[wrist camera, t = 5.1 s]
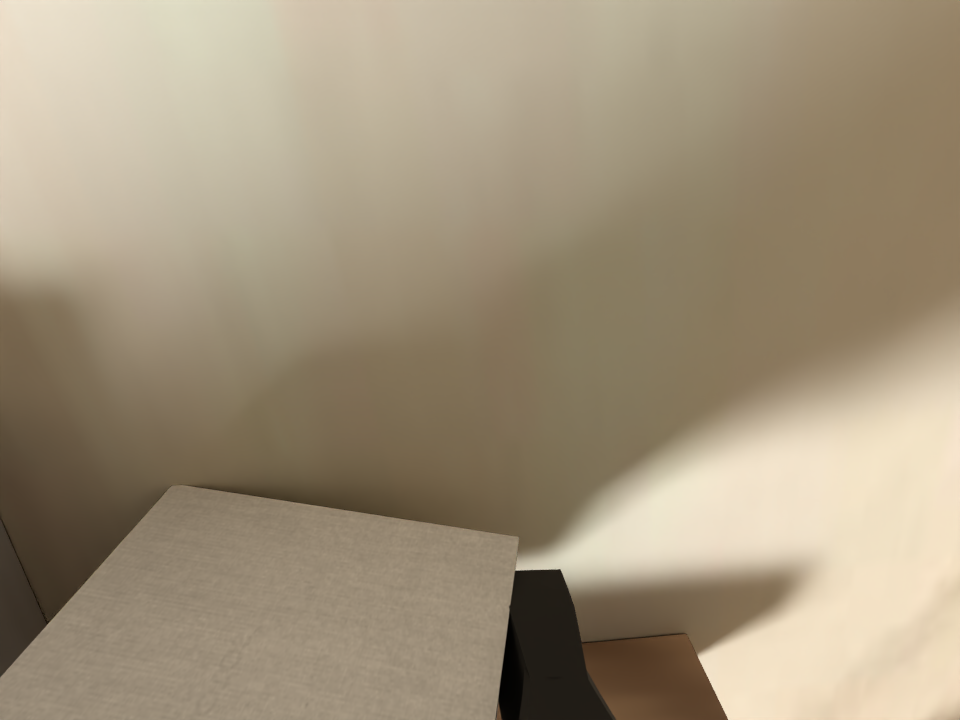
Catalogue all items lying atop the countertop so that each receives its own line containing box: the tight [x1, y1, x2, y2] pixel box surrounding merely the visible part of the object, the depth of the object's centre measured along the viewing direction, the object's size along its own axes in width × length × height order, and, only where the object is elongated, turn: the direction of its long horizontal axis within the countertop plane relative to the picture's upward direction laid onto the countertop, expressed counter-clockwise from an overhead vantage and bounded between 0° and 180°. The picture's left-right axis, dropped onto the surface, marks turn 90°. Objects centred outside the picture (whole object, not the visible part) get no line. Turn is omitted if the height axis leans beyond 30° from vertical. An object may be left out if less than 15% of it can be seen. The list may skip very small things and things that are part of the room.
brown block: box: [0, 519, 728, 720], centre depth 12 cm, size 17×10×4 cm, turn 87°
